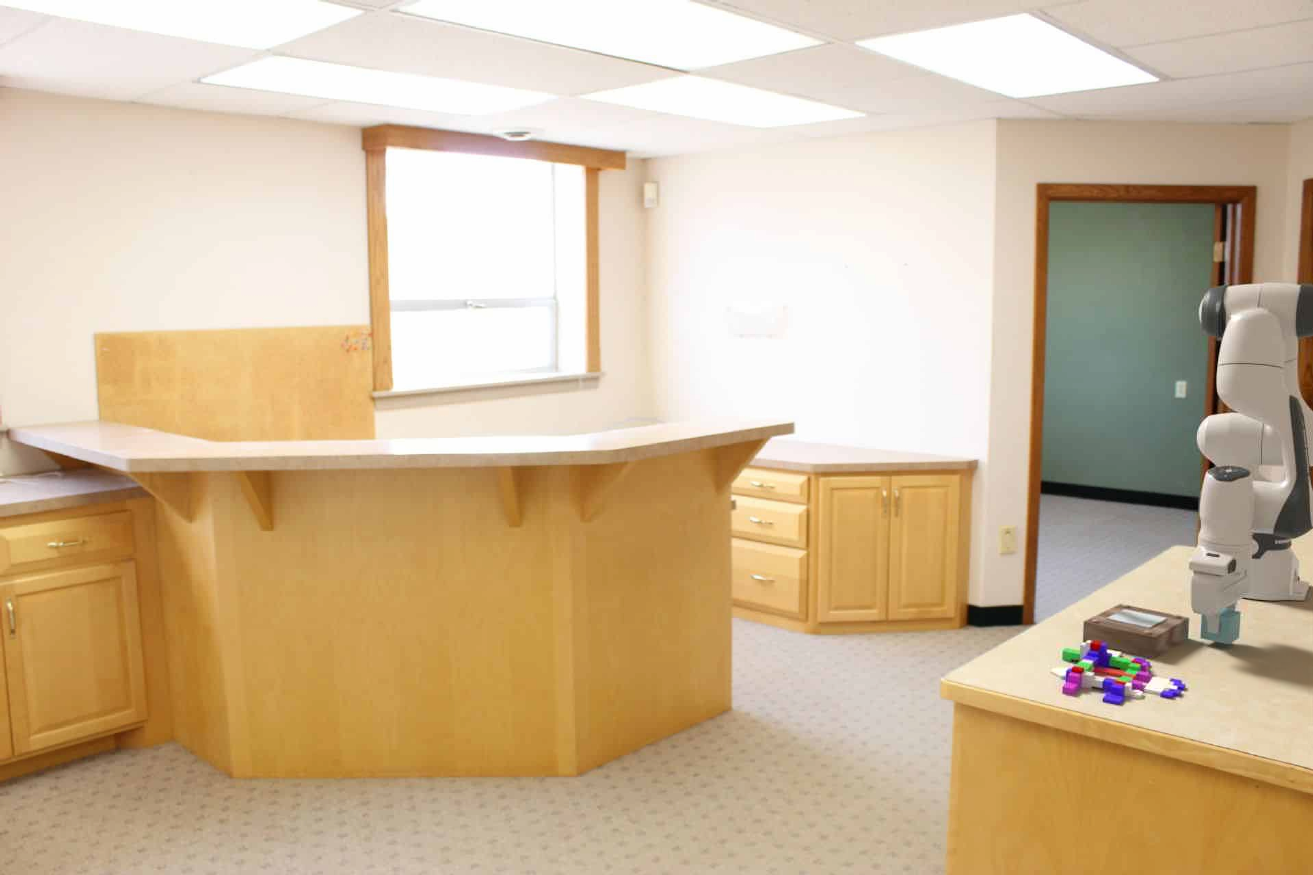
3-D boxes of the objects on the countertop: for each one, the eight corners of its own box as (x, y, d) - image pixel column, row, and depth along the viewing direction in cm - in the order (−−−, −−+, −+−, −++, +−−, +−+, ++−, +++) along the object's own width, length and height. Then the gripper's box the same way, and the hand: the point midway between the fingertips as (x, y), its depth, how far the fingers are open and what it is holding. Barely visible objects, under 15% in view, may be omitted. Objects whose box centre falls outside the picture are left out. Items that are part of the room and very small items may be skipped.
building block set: (1167, 718, 163) (1168, 690, 162) (1033, 690, 175) (1034, 664, 175) (1197, 671, 183) (1198, 646, 182) (1075, 649, 195) (1076, 626, 194)
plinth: (1119, 623, 208) (1120, 602, 208) (1188, 637, 199) (1189, 615, 198) (1082, 642, 197) (1083, 619, 197) (1153, 658, 188) (1154, 635, 187)
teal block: (1210, 631, 198) (1211, 606, 198) (1239, 637, 195) (1240, 611, 194) (1200, 638, 195) (1201, 612, 194) (1229, 644, 191) (1230, 617, 191)
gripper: (1226, 542, 202) (1222, 611, 204) (1185, 562, 188) (1181, 636, 190) (1262, 547, 198) (1258, 618, 199) (1222, 568, 184) (1218, 644, 186)
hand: (1220, 627), depth 195 cm, fingers closed on teal block, 5 cm apart
